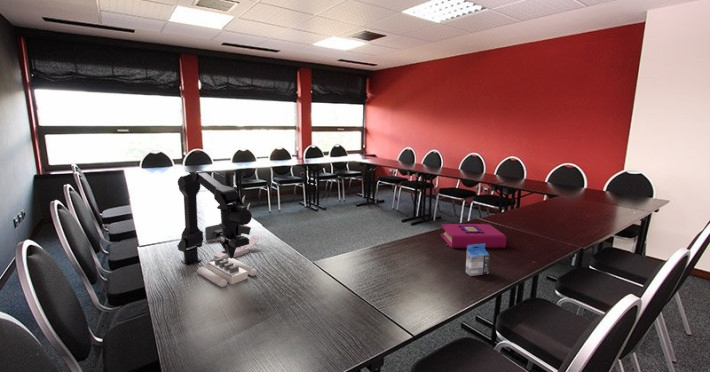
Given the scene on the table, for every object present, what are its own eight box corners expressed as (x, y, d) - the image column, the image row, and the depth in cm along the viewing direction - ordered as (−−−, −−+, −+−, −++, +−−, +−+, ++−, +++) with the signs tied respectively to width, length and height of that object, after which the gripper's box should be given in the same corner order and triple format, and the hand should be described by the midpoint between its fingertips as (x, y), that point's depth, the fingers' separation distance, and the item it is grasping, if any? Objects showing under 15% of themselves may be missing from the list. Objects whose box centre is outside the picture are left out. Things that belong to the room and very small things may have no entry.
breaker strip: (207, 269, 143) (206, 258, 142) (222, 264, 148) (222, 254, 147) (231, 284, 130) (230, 272, 129) (247, 278, 135) (247, 266, 134)
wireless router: (205, 228, 200) (202, 195, 196) (245, 223, 210) (243, 192, 206) (206, 246, 170) (203, 208, 166) (253, 240, 180) (251, 204, 176)
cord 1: (197, 274, 139) (197, 267, 138) (204, 272, 141) (204, 265, 140) (221, 289, 126) (220, 282, 126) (228, 286, 128) (228, 279, 128)
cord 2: (227, 264, 148) (226, 258, 148) (233, 262, 151) (233, 256, 150) (251, 278, 136) (251, 271, 135) (258, 275, 138) (257, 268, 138)
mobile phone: (261, 237, 167) (216, 251, 148) (262, 248, 168) (217, 264, 148) (254, 235, 171) (208, 249, 151) (254, 246, 172) (209, 261, 152)
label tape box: (470, 276, 138) (472, 248, 136) (464, 272, 142) (466, 244, 140) (488, 274, 140) (491, 246, 138) (482, 270, 144) (484, 243, 142)
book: (505, 249, 171) (507, 234, 169) (451, 249, 170) (452, 235, 168) (488, 235, 191) (489, 222, 190) (439, 235, 190) (440, 222, 189)
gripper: (260, 220, 132) (262, 258, 135) (235, 212, 144) (237, 247, 147) (234, 227, 124) (236, 266, 126) (210, 218, 135) (212, 254, 138)
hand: (231, 258), depth 135 cm, fingers closed
